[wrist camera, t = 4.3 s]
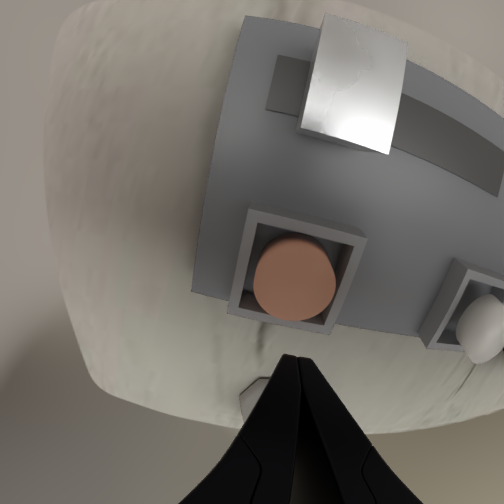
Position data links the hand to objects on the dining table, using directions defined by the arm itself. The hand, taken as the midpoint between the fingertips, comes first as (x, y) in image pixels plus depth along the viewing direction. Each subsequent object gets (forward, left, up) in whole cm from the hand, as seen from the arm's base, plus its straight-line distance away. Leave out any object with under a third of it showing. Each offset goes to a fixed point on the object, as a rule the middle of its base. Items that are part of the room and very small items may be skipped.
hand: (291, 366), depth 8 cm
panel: (-6, -4, -9) cm, 12 cm away
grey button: (-12, 0, -5) cm, 13 cm away
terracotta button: (0, 0, -7) cm, 7 cm away
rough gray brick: (0, -8, -7) cm, 11 cm away
